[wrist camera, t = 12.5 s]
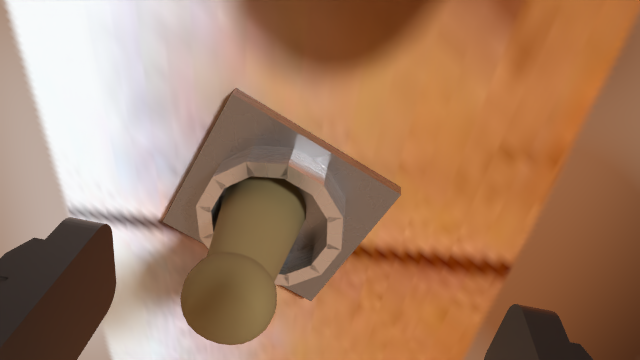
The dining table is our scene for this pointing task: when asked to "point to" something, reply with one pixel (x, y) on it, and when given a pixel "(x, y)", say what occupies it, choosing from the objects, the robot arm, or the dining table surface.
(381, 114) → the dining table surface
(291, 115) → the dining table surface
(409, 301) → the dining table surface
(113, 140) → the dining table surface
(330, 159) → the hub
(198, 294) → the cork
